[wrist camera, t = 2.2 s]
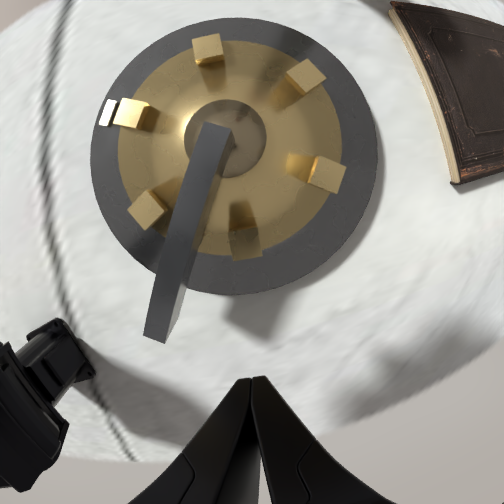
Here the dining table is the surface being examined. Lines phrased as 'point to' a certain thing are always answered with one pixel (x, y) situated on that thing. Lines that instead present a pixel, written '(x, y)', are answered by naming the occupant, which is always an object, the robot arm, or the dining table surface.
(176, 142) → the ring nut
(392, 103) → the dining table surface
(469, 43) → the hardcover book
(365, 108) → the base
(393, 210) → the dining table surface
